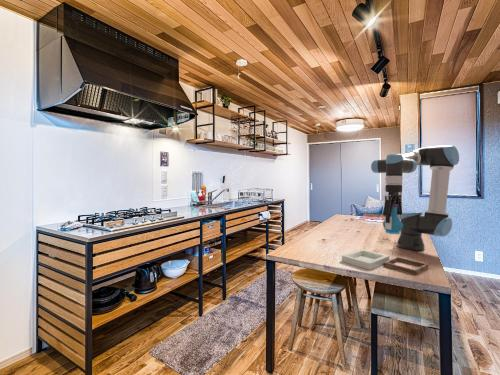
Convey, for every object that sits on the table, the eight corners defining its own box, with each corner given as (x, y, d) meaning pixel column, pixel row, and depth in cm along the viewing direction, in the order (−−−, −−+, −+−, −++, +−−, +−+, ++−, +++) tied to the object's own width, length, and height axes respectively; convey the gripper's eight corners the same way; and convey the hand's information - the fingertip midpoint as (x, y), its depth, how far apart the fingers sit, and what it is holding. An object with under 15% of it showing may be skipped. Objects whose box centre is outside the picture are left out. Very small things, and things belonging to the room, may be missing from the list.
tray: (361, 254, 155) (361, 249, 154) (389, 261, 142) (389, 255, 142) (341, 261, 143) (341, 255, 142) (370, 269, 130) (370, 263, 130)
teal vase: (395, 230, 140) (396, 202, 139) (406, 234, 131) (407, 204, 130) (378, 230, 139) (379, 202, 139) (389, 234, 130) (390, 205, 130)
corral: (397, 260, 144) (397, 256, 144) (428, 268, 132) (428, 264, 132) (383, 266, 135) (383, 262, 135) (415, 275, 123) (415, 270, 123)
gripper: (395, 183, 144) (394, 224, 145) (376, 184, 130) (375, 229, 131) (410, 184, 138) (409, 226, 139) (392, 185, 124) (390, 232, 125)
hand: (392, 227), depth 135 cm, fingers closed on teal vase, 9 cm apart
